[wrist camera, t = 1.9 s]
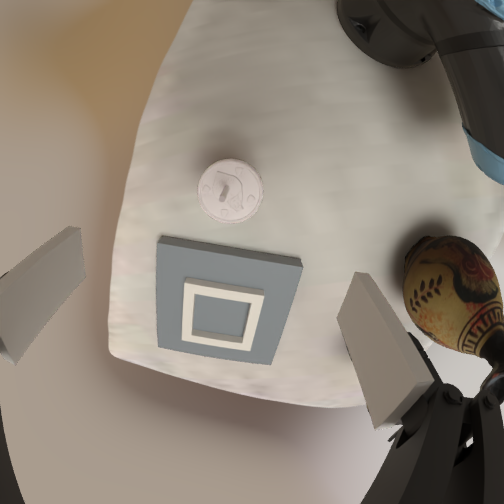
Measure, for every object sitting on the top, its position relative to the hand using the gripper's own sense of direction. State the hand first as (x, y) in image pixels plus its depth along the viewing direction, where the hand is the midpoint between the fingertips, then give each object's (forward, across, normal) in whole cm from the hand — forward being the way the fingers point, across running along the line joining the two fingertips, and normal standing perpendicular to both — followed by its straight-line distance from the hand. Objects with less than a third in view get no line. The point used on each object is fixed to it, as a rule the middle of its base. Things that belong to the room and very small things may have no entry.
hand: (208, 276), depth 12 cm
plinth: (+25, 0, -20) cm, 32 cm away
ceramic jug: (+25, +34, -7) cm, 43 cm away
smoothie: (+25, 0, 0) cm, 25 cm away
